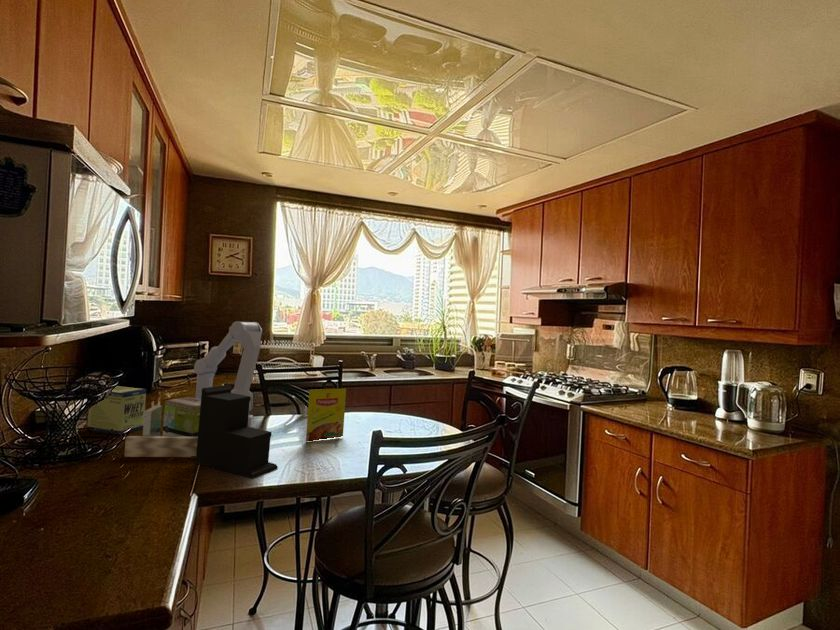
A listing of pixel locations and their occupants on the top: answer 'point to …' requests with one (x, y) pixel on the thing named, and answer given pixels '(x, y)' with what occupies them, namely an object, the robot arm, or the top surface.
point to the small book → (152, 421)
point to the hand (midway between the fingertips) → (201, 424)
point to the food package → (325, 413)
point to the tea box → (181, 417)
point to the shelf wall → (160, 446)
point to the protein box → (119, 411)
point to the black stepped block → (231, 435)
